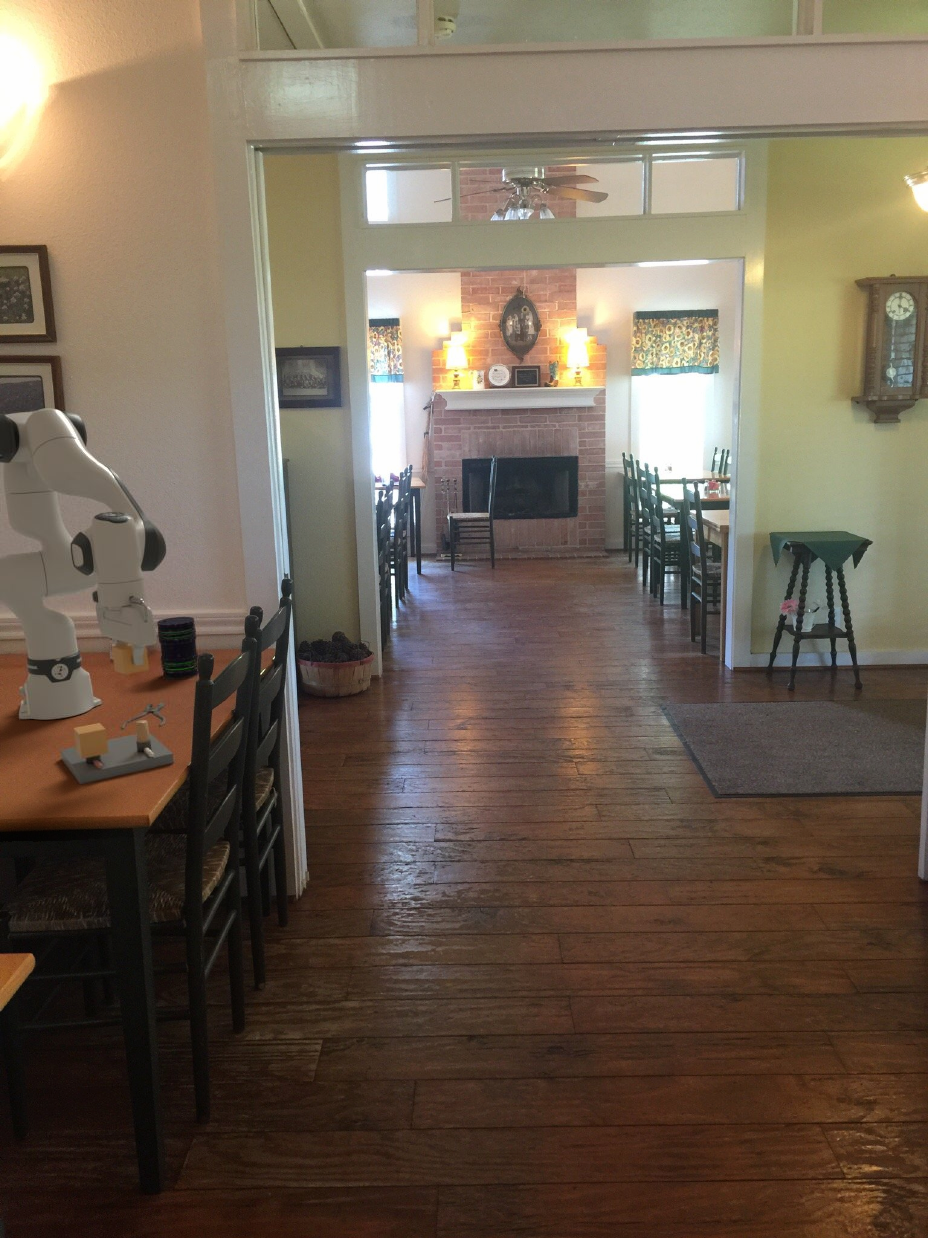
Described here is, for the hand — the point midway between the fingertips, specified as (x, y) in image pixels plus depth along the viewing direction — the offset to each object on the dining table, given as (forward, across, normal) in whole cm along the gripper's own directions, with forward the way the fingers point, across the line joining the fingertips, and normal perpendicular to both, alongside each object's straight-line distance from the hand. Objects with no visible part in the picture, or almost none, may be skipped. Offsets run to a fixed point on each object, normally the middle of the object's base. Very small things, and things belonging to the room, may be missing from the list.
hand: (131, 662), depth 197 cm
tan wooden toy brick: (+2, 0, 0) cm, 2 cm away
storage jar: (+19, +59, -36) cm, 72 cm away
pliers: (+20, +29, -13) cm, 38 cm away
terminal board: (+20, +3, +4) cm, 21 cm away
